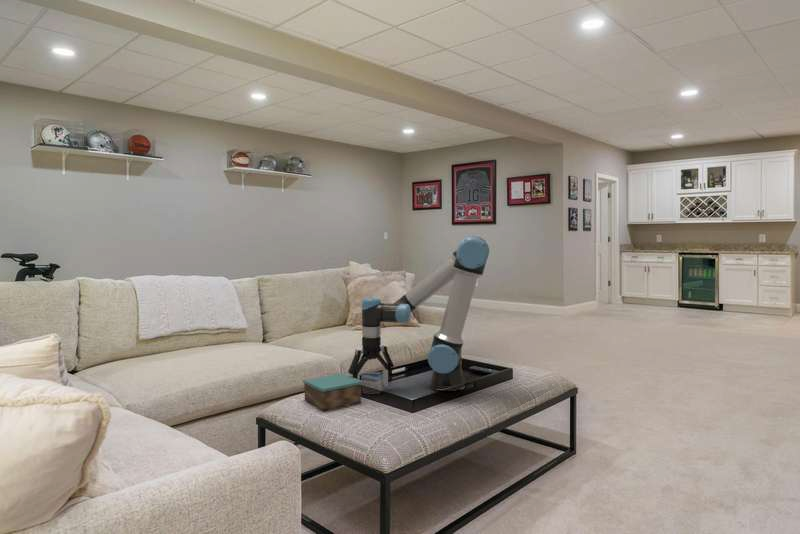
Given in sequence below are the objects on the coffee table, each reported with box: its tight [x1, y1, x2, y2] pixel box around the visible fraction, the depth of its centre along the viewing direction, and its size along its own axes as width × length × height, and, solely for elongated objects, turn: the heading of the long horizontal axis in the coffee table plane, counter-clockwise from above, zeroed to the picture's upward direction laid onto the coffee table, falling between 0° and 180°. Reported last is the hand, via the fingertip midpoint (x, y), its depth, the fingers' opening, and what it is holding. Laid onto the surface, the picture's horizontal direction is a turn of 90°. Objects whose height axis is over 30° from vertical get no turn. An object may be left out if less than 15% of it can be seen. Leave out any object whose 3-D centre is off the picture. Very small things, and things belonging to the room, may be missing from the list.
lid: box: [302, 372, 363, 392], centre depth 202 cm, size 17×17×1 cm
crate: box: [303, 383, 362, 412], centre depth 202 cm, size 16×16×7 cm
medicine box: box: [360, 370, 384, 391], centre depth 213 cm, size 8×4×9 cm, turn 76°
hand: (371, 387), depth 213 cm, fingers open, 13 cm apart
